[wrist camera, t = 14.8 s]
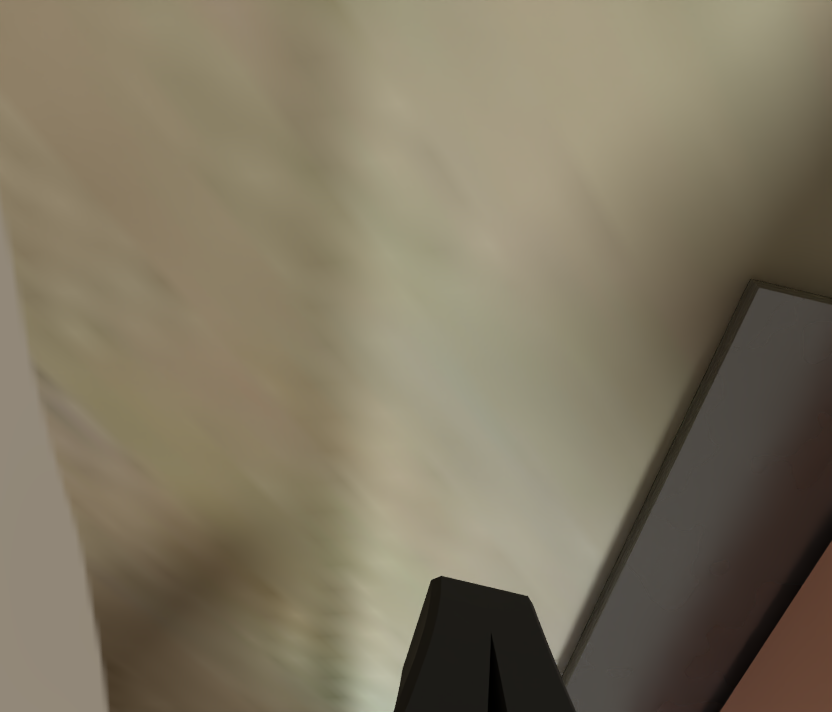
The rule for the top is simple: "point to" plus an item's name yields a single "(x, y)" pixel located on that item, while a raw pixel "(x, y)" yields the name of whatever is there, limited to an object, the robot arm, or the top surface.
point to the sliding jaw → (794, 654)
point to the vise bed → (721, 520)
